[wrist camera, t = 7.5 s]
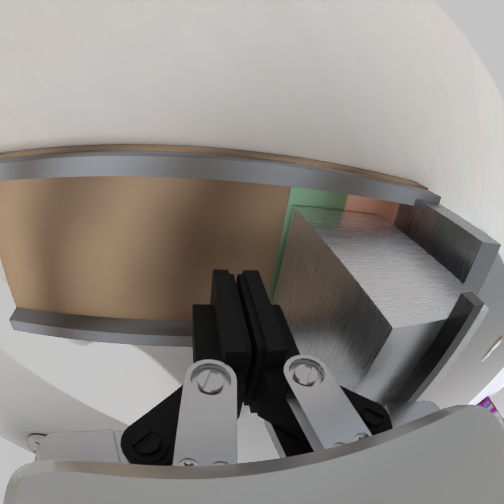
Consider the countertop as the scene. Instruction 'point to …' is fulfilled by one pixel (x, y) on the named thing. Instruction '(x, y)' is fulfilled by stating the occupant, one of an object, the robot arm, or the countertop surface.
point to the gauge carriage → (372, 304)
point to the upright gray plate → (449, 241)
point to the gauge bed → (157, 230)
